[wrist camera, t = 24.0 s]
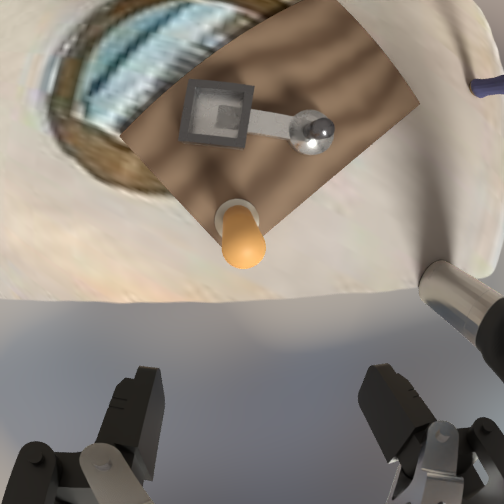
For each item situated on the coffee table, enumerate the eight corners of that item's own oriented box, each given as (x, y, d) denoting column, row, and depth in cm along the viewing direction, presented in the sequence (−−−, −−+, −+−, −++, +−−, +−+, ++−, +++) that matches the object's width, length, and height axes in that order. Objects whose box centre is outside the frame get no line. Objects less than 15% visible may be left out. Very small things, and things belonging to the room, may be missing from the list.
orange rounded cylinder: (235, 239, 39) (240, 276, 27) (216, 217, 38) (212, 245, 26) (258, 221, 39) (274, 251, 26) (240, 199, 38) (247, 217, 25)
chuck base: (415, 104, 36) (420, 103, 35) (234, 256, 42) (234, 260, 40) (322, -6, 30) (325, -11, 28) (122, 136, 35) (118, 136, 33)
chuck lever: (331, 112, 35) (352, 103, 28) (323, 164, 37) (344, 165, 30) (193, 89, 32) (186, 73, 25) (184, 143, 35) (174, 139, 28)
